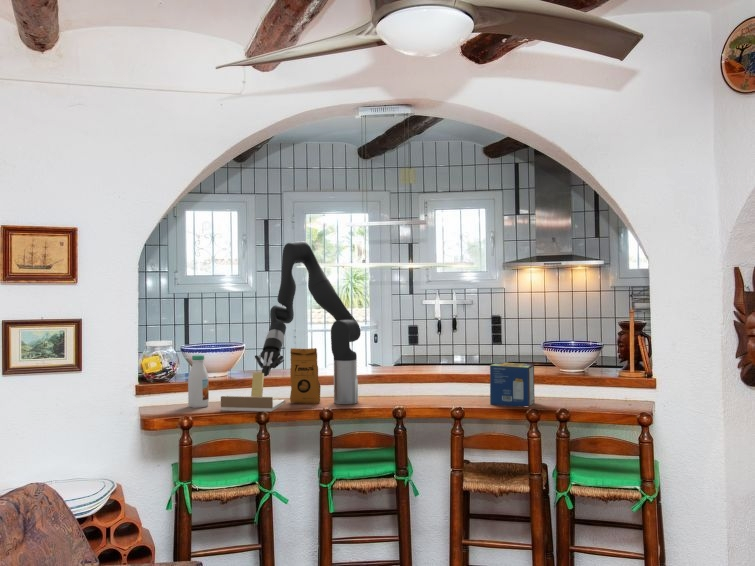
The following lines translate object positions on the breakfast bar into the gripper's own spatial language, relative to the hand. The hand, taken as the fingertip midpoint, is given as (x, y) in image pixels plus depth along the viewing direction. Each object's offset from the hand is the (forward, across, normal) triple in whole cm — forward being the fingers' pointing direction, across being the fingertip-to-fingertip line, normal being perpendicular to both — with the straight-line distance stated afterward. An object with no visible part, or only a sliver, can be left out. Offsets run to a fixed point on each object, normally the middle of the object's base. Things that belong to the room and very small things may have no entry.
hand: (264, 375), depth 269 cm
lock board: (+17, 0, -2) cm, 17 cm away
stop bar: (+13, 0, -2) cm, 13 cm away
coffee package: (+10, +18, +5) cm, 21 cm away
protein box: (+4, +100, +10) cm, 101 cm away
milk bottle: (+19, -22, -4) cm, 29 cm away
